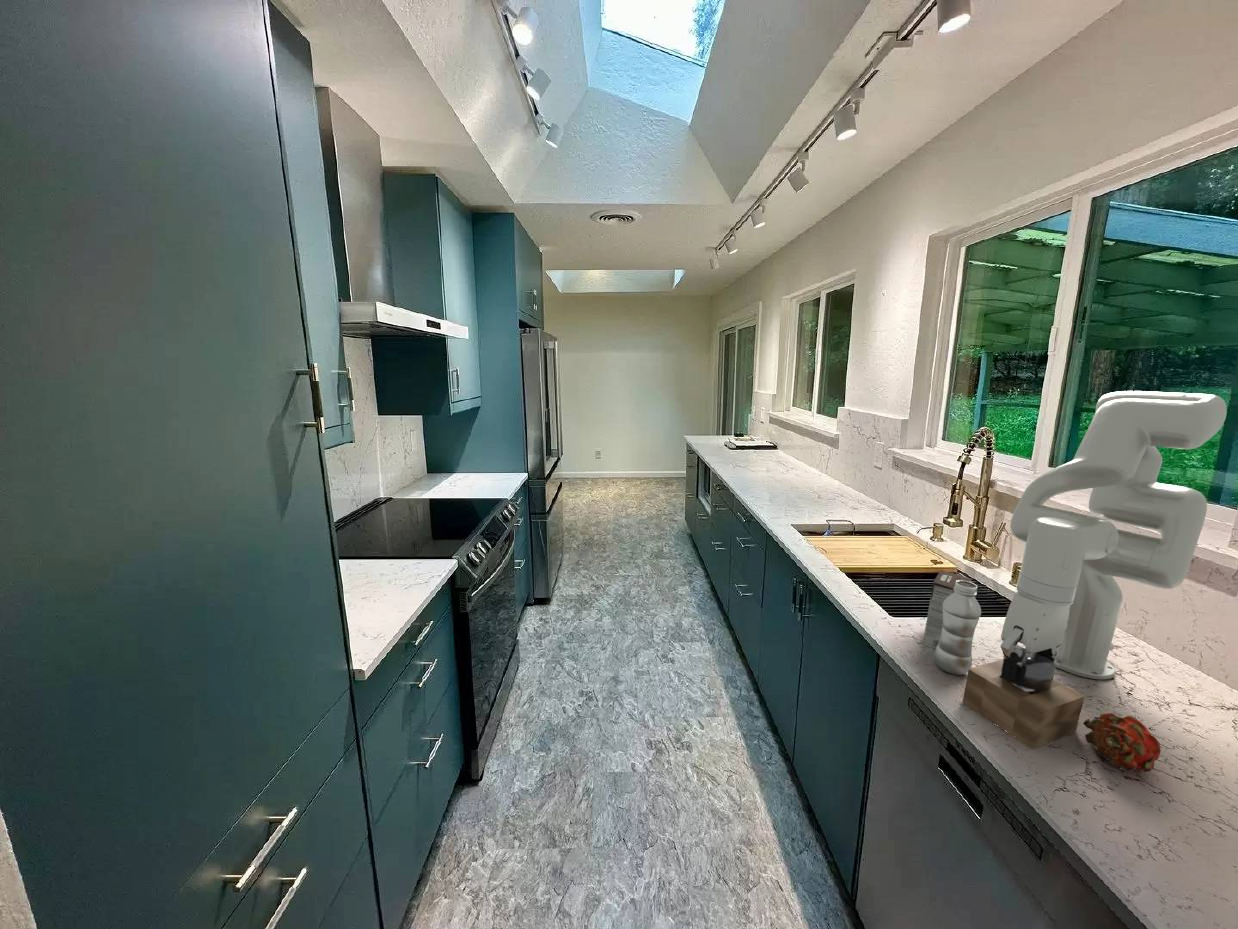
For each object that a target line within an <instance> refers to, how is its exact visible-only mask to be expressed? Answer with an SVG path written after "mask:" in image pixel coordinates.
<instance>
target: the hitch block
mask: <svg viewBox="0 0 1238 929" xmlns="http://www.w3.org/2000/svg"><path fill="white" fill-rule="evenodd" d="M1003 659H1004V658H1002V659H998V660H995V661H992V662H988V663H985V664H981V665H978V666H975V667H971V668H970V669H969V670H968V672H967V676H966V681H965V686H964V690H963V691H964V692H963V696H962V701H961V703H962V702H963V703H962V704H964V705H965V706H966V707H968V706H969V707H968V708H970V709H971V708H972V709H971V710H973V711H975V712H976V713H977V712H978V713H977V714H978V715H980V714H981V715H980V716H981V717H983V718H984V719H986V718H987V719H986V720H988V721H989V720H990V721H989V722H990V723H992V724H994V725H995V724H996V725H995V726H997V725H998V726H999V727H998V726H997V727H998V728H999V729H1001V728H1002V730H1003V731H1004V730H1006V731H1007V732H1008V733H1007V732H1006V731H1005V732H1006V733H1007V734H1008V735H1010V734H1011V735H1010V736H1012V737H1013V736H1015V737H1016V738H1017V739H1016V738H1015V737H1014V738H1015V739H1016V740H1018V741H1019V740H1020V741H1019V742H1021V743H1022V742H1023V743H1022V744H1024V745H1025V744H1026V745H1025V746H1027V747H1028V748H1030V749H1031V750H1035V749H1037V748H1039V747H1041V746H1044V745H1046V744H1049V743H1052V742H1054V741H1057V740H1059V739H1061V738H1064V737H1067V736H1069V735H1073V734H1074V733H1076V732H1077V730H1078V729H1077V728H1078V724H1079V720H1080V717H1081V713H1082V709H1083V705H1084V702H1085V701H1084V700H1085V695H1084V694H1081V693H1080V692H1078V691H1076V690H1074V689H1071V688H1070V687H1069V686H1066V685H1064V684H1063V683H1061V682H1058V681H1057V680H1055V679H1053V681H1052V685H1051V688H1050V689H1049V690H1046V691H1038V690H1037V691H1036V694H1033V695H1031V694H1029V693H1027V692H1026V691H1024V690H1022V689H1020V688H1019V687H1017V686H1015V685H1013V684H1012V683H1011V682H1010V681H1008V680H1007V679H1005V678H1003V677H1002V676H1001V673H1002V671H1001V669H1002V664H1003Z"/></svg>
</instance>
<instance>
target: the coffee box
mask: <svg viewBox="0 0 1238 929" xmlns="http://www.w3.org/2000/svg"><path fill="white" fill-rule="evenodd" d="M959 580H961V581H968V582H971V583H972V580H973V579H972V578H970V577H966V576H962V575H960V574H957V573H953V572H950V571H945V570H940V571H939V572H938V573H937V575H936V577H935V579H934V580H933V582H932V587H931V594H930V599H929V606H928V611H927V615H926V622H925V627H924V634H923V639H922V645H924V646H925V647H926V646H927V647H929V648H931V649H935V650H936V647H937V645H938V644H939V640H940V637H941V633H942V627H943V626H942V625H943V602H944V600H945V599H946V598H947V597H948V596H949V595H951V594H952V593H954V592H955V591H954V590H953V589H954V587H955V583H956V581H959Z"/></svg>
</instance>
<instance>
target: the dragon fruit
mask: <svg viewBox="0 0 1238 929" xmlns="http://www.w3.org/2000/svg"><path fill="white" fill-rule="evenodd" d="M1082 724H1083V725H1084V726H1085V728H1087V729H1089V730H1091V731H1090V732H1088V733H1086V734H1084V737H1085V741H1086V742H1087V743H1088V744H1090V745H1091V746H1093V747H1094V748H1096V752H1097V753H1098V755H1099V756H1100V757H1102V758H1105V760H1106V761H1107V762H1108V763H1110V764H1112V765H1113V766H1114V767H1116V768H1117V769H1119V770H1123V771H1124V772H1131V771H1134V770H1136V771H1143V772H1144V773H1146V772H1147V773H1148V772H1150V771H1152V770H1153V769H1154V766H1155V762H1157V761H1158V759H1159V757H1160V755H1161V752H1162V748H1161V745H1160V744H1161V743H1160V742H1159V741H1158V739H1157V738H1156V736H1154V735H1152V734H1151V733H1150V731H1149V730H1148V728H1147V727H1146V726H1145V725H1144V724H1143V723H1142V722H1141V721H1139V720H1138V719H1137V718H1136V717H1133V716H1131V715H1126V716H1124V717H1121V716H1117V715H1116V714H1114V713H1101V714H1100V715H1099V716H1093V719H1092V720H1091V719H1090V718H1087V719H1085V720H1084V721H1083V723H1082Z"/></svg>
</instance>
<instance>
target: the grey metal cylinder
mask: <svg viewBox="0 0 1238 929" xmlns="http://www.w3.org/2000/svg"><path fill="white" fill-rule="evenodd" d="M1023 648H1024V647H1023ZM1024 649H1025V648H1024ZM1014 652H1015V653H1017V654H1018V656H1019V657H1020V656H1021V654H1022V653H1023V651H1021V650H1019V649H1017V648H1015V651H1014ZM1002 659H1003V664H1004V659H1005V658H1004V657H1003V658H1002ZM1003 664H1002V669H1003ZM1024 666H1026V667H1027V668H1026V672H1025V677H1024V681H1023V685H1022V686H1017V685H1015V684H1014V683H1012V682H1011V683H1012V684H1013V685H1015V686H1017V687H1019V688H1020V689H1022V690H1024V691H1026V692H1027V693H1029V694H1031V695H1033V694H1036V691H1037V690H1038V691H1046V690H1049V689H1050V688H1051V685H1052V681H1053V680H1054V676H1055V672H1056V668H1057V667H1056V666H1055V664H1054V663H1053V662H1052V661H1051V660H1050V659H1049V658H1047V657H1045V656H1044V655H1042V654H1040V653H1037V652H1035V653H1030V655H1029V657H1028V659H1027V660H1026V662H1025V664H1024ZM1002 669H1001V671H1002Z"/></svg>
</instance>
